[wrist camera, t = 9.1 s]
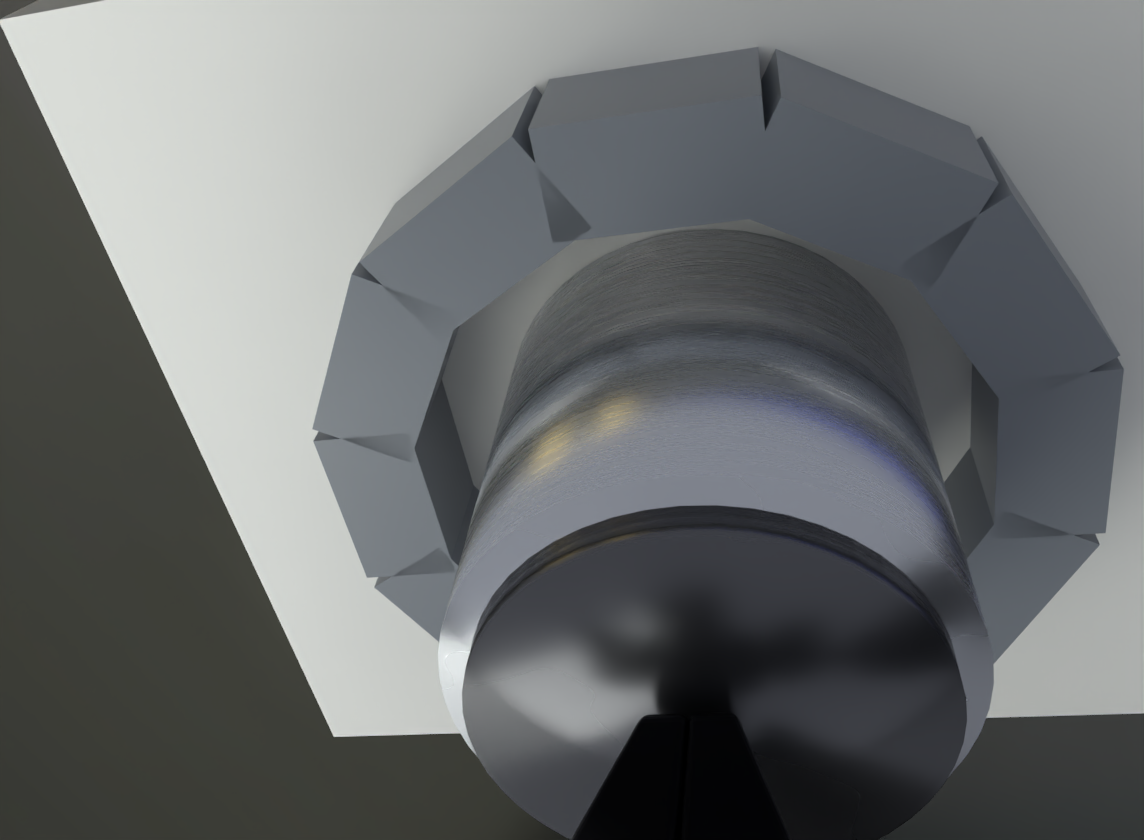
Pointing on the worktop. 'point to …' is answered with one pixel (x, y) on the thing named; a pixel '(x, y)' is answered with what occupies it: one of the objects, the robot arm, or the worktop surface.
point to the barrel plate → (601, 225)
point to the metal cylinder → (717, 542)
